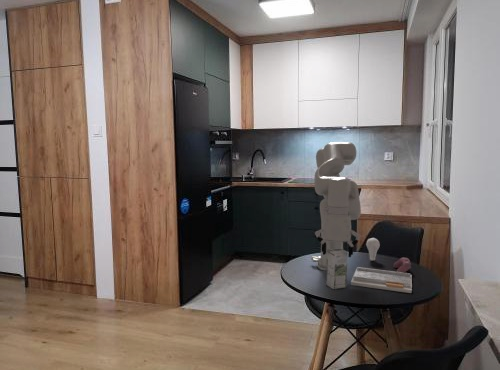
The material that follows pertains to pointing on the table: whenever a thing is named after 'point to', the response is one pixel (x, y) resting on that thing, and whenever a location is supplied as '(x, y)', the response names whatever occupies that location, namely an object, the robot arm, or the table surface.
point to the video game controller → (402, 265)
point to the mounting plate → (384, 285)
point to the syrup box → (336, 268)
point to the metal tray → (382, 276)
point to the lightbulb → (372, 247)
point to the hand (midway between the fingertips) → (337, 255)
